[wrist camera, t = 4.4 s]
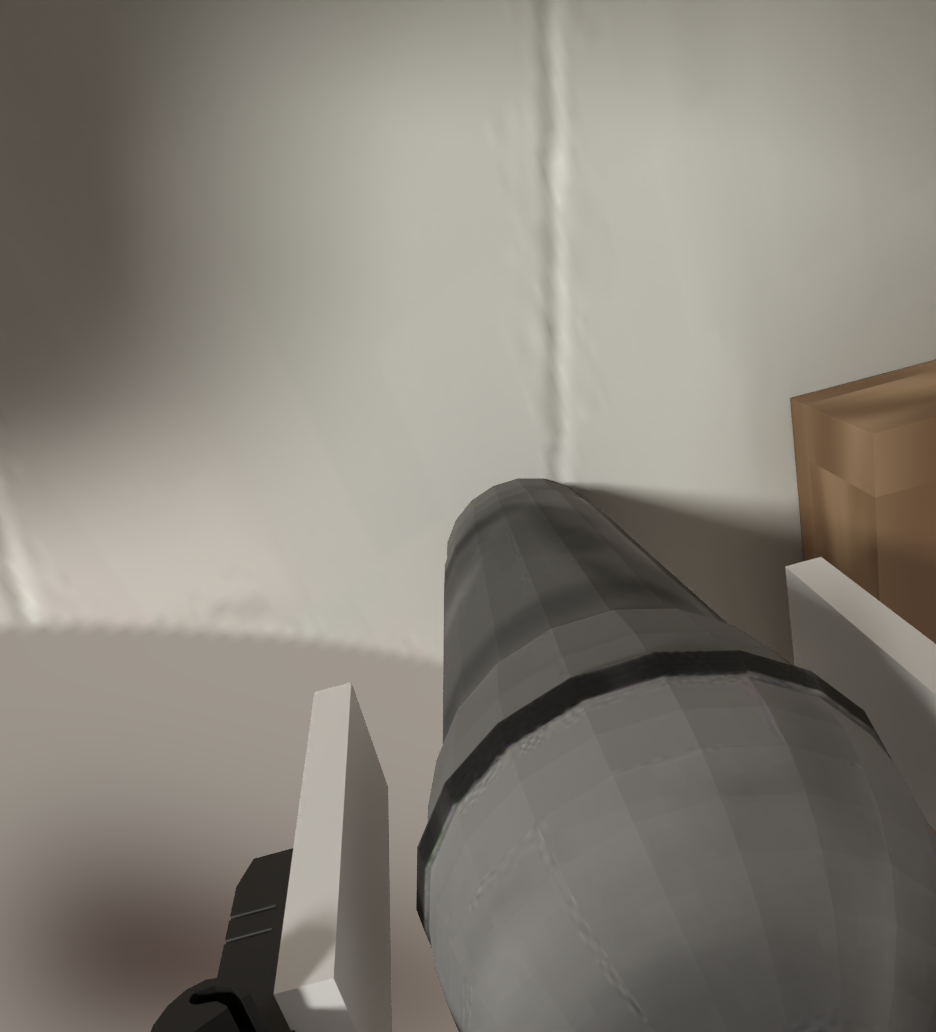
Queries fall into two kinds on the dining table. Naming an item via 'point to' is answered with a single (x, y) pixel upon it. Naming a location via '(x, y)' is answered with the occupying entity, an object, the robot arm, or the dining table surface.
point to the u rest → (873, 486)
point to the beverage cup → (654, 805)
